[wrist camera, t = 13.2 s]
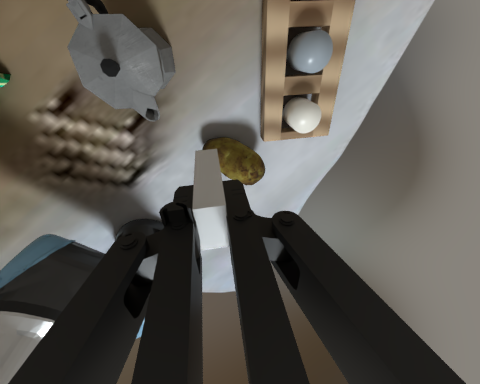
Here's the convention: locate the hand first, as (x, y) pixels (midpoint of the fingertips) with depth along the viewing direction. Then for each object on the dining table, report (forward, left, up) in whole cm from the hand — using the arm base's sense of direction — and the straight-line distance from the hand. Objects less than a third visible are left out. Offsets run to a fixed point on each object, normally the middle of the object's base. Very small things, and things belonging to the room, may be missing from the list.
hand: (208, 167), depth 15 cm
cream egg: (-4, -18, -28) cm, 34 cm away
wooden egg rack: (+6, -18, -29) cm, 35 cm away
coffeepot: (+7, +9, -30) cm, 32 cm away
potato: (-12, -5, -30) cm, 32 cm away
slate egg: (+6, -18, -28) cm, 34 cm away
